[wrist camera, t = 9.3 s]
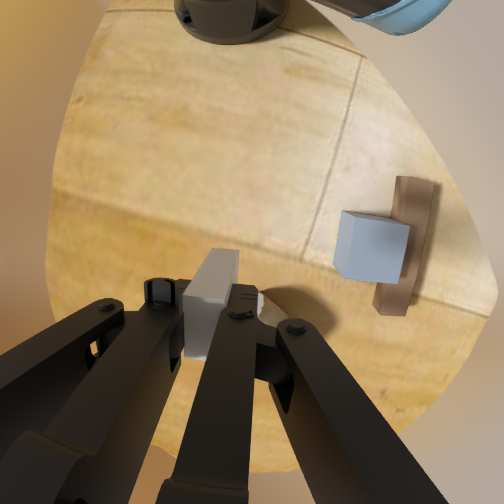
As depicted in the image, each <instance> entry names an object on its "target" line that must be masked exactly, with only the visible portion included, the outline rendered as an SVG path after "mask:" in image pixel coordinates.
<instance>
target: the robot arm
mask: <svg viewBox="0 0 504 504" xmlns="http://www.w3.org/2000/svg"><path fill="white" fill-rule="evenodd" d="M312 1H314V2H317V3H319V4H322V5H324V6H327V7H329V8H331V9H334V10H336V11H338V12H341V13H343V14H345V15H348V16H349V17H351V19H352V20H354V21H357V22H364V23H366V24H368V25H370V26H372V27H374V28H377V29H379V30H381V31H383V32H385V33H387V34H390V35H396V36H399V35H406V34H409V33H413V32H415V31H417V30H419V29H421V28H422V27H424V26H425V25H427V24H428V23H430V22H431V21H432V20H433V19H435V18H436V17H437V16H438V15H439V14H440V13H441V12H442V11H443V10H444V9H445V8H446V7H447V6H448V4H449V3H450V2H451V1H452V0H312ZM288 2H289V0H174V9H175V13H176V16H177V18H178V20H179V21H180V23H181V25H182V26H183V28H184V29H185V30H186V31H187V32H188V33H189V34H191V35H192V36H194V37H195V38H197V39H200V40H202V41H205V42H208V43H213V44H222V45H232V44H241V43H246V42H250V41H253V40H256V39H258V38H261V37H263V36H265V35H267V34H268V33H270V32H271V31H273V30H274V29H275V28H276V27H277V26H278V25H279V24H280V23H281V22H282V20H283V19H284V17H285V15H286V13H287V9H288ZM239 251H240V250H231V249H220V248H212V250H211V251H210V253H209V254H208V256H207V257H206V259H205V261H204V262H203V264H202V265H201V267H200V268H199V270H198V271H197V273H196V274H195V276H194V278H193V279H192V280H186V279H178V280H176V281H175V280H173V279H169V278H153V279H149V280H147V281H145V282H144V294H145V303H144V305H143V306H142V307H141V308H140V309H139V311H124V305H123V303H122V302H121V301H119V300H116V299H112V298H109V299H108V298H104V299H101V300H98V301H95V302H93V303H91V304H89V305H88V306H86V307H84V308H82V309H80V310H79V311H77V312H75V313H73V314H71V315H70V316H68V317H66V318H64V319H62V320H61V321H59V322H57V323H55V324H54V325H52V326H50V327H48V328H47V329H45V330H43V331H41V332H40V333H38V334H36V335H34V336H33V337H31V338H29V339H28V340H26V341H24V342H23V343H21V344H19V345H17V346H16V347H14V348H12V349H11V350H9V351H7V352H6V353H4V354H2V355H1V356H0V504H128V502H129V499H130V496H131V494H132V491H133V488H134V486H135V483H136V480H137V477H138V475H139V472H140V469H141V467H142V464H143V461H144V458H145V456H146V453H147V451H148V448H149V445H150V443H151V440H152V437H153V435H154V432H155V429H156V427H157V424H158V422H159V419H160V417H161V414H162V411H163V409H164V406H165V404H166V401H167V399H168V396H169V393H170V391H171V388H172V386H173V383H174V381H175V378H176V376H177V373H178V371H179V368H180V366H181V352H182V349H183V347H184V358H190V359H198V360H205V361H206V362H205V365H204V368H203V372H202V375H201V378H200V382H199V385H198V388H197V392H196V395H195V398H194V402H193V405H192V409H191V412H190V415H189V419H188V422H187V426H186V429H185V432H184V436H183V439H182V443H181V446H180V450H179V453H178V457H177V460H176V464H175V467H174V471H173V473H172V476H171V477H170V478H168V479H165V481H164V482H163V483H162V485H161V488H160V491H159V493H158V497H157V500H156V503H155V504H248V499H249V491H248V475H249V461H250V445H251V429H252V412H253V395H254V378H256V379H260V380H263V381H266V382H269V390H270V392H271V395H272V398H273V400H274V403H275V405H276V408H277V410H278V413H279V416H280V418H281V421H282V423H283V426H284V428H285V431H286V433H287V436H288V438H289V441H290V443H291V446H292V448H293V451H294V453H295V455H296V458H297V460H298V463H299V465H300V468H301V470H302V472H303V474H304V477H305V480H306V481H307V484H308V487H309V489H310V491H311V494H312V496H313V498H314V501H315V503H316V504H449V503H448V502H447V501H446V499H445V498H444V497H443V495H442V494H441V493H440V491H439V490H438V489H437V487H436V486H435V485H434V483H433V482H432V481H431V479H430V478H429V477H428V475H427V474H426V473H425V472H424V470H423V469H422V467H421V466H420V465H419V463H418V462H417V461H416V459H415V458H414V457H413V455H412V454H411V453H410V452H409V450H408V449H407V447H406V446H405V445H404V443H403V442H402V441H401V439H400V438H399V437H398V436H397V434H396V433H395V432H394V430H393V429H392V428H391V426H390V425H389V424H388V422H387V421H386V420H385V418H384V417H383V416H382V414H381V413H380V412H379V410H378V409H377V408H376V407H375V405H374V404H373V403H372V401H371V400H370V399H369V397H368V396H367V395H366V393H365V392H364V391H363V389H362V388H361V387H360V385H359V384H358V383H357V382H356V380H355V379H354V378H353V376H352V375H351V374H350V372H349V371H348V370H347V368H346V367H345V366H344V364H343V363H342V362H341V361H340V359H339V358H338V357H337V355H336V354H335V353H334V351H333V350H332V349H331V347H330V346H329V345H328V344H327V342H326V341H325V340H324V338H323V337H322V336H321V334H320V333H319V332H318V330H317V329H316V328H315V327H314V326H313V325H312V324H311V323H309V322H307V321H305V320H302V319H301V320H300V319H297V318H296V319H285V320H282V321H280V322H279V323H278V325H277V327H273V326H270V325H267V324H265V323H263V322H261V321H260V320H259V319H258V315H257V308H258V289H257V288H256V287H255V286H254V285H244V284H237V279H238V265H239ZM94 341H96V346H97V351H98V352H97V353H96V354H94V355H93V354H92V352H91V347H90V344H91V343H93V342H94Z"/></svg>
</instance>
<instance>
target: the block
mask: <svg viewBox="0 0 504 504" xmlns="http://www.w3.org/2000/svg"><path fill="white" fill-rule="evenodd" d="M409 230H410V226H408V225H406V224H403V223H401V222H398V221H395V220H393V219H390V218H385V217H379V216H373V215H367V214H360V213H354V212H348V211H341V217H340V224H339V230H338V236H337V242H336V248H335V254H334V259H333V265H334V266H335V267H336V269H337V270H338V271H339V273H340V274H341V275H342V277H343V278H344V279H349V280H359V281H370V282H380V283H391V284H398V280H399V276H400V272H401V268H402V264H403V259H404V255H405V250H406V245H407V240H408V235H409Z"/></svg>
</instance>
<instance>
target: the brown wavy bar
mask: <svg viewBox="0 0 504 504" xmlns="http://www.w3.org/2000/svg"><path fill="white" fill-rule="evenodd" d="M433 188H434V183H432V182H428V181H424V180H420V179H416V178H412V177H408V176H396V184H395V192H394V199H393V205H392V212H391V218H390V219H393V220H395V221H398V222H401V223H403V224H406V225H408V226H410V230H409V235H408V240H407V245H406V250H405V255H404V259H403V264H402V268H401V272H400V276H399V280H398V284H391V283H380V282H377V286H376V291H375V295H374V298H373V302H372V305H373V306H374V308H375V309H376V310H377V312H378V313H379V314H380V315H385V316H406V312H407V309H408V306H409V302H410V299H411V295H412V292H413V288H414V284H415V281H416V277H417V273H418V269H419V265H420V260H421V256H422V251H423V247H424V242H425V237H426V232H427V226H428V221H429V215H430V209H431V202H432V195H433Z"/></svg>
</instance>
